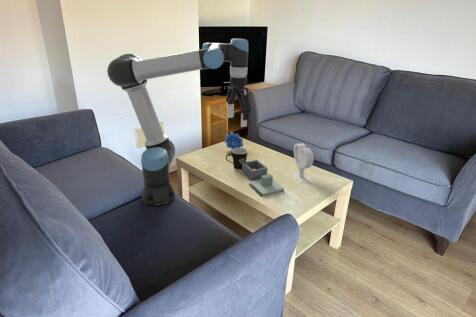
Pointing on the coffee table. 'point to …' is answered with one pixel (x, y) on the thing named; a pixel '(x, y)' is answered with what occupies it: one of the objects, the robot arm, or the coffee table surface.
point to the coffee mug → (238, 157)
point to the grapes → (233, 141)
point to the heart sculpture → (302, 161)
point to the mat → (259, 192)
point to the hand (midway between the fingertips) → (237, 121)
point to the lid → (266, 185)
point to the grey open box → (254, 174)
